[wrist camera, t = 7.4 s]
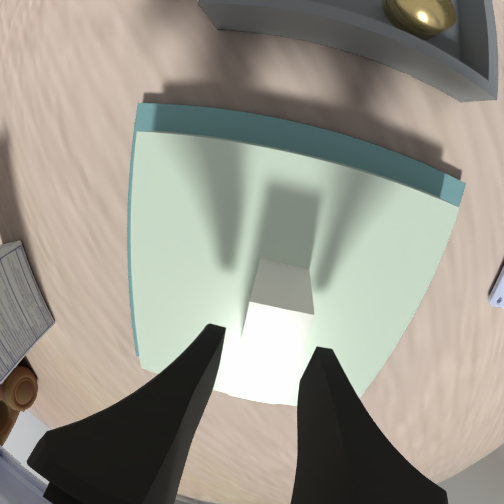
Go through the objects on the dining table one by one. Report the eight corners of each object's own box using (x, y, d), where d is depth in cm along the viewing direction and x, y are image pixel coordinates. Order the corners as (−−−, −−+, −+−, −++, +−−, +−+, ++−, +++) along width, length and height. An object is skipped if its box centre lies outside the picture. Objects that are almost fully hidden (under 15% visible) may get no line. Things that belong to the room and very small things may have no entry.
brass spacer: (437, 7, 6) (454, -6, 4) (436, 49, 7) (457, 40, 6) (383, -18, 6) (395, -36, 4) (380, 24, 8) (394, 8, 6)
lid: (440, 197, 10) (501, 233, 6) (346, 390, 16) (353, 449, 12) (156, 130, 11) (88, 135, 6) (151, 349, 16) (121, 402, 12)
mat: (460, 181, 10) (465, 183, 10) (353, 397, 17) (354, 402, 16) (143, 103, 11) (137, 103, 10) (138, 350, 18) (136, 355, 17)
